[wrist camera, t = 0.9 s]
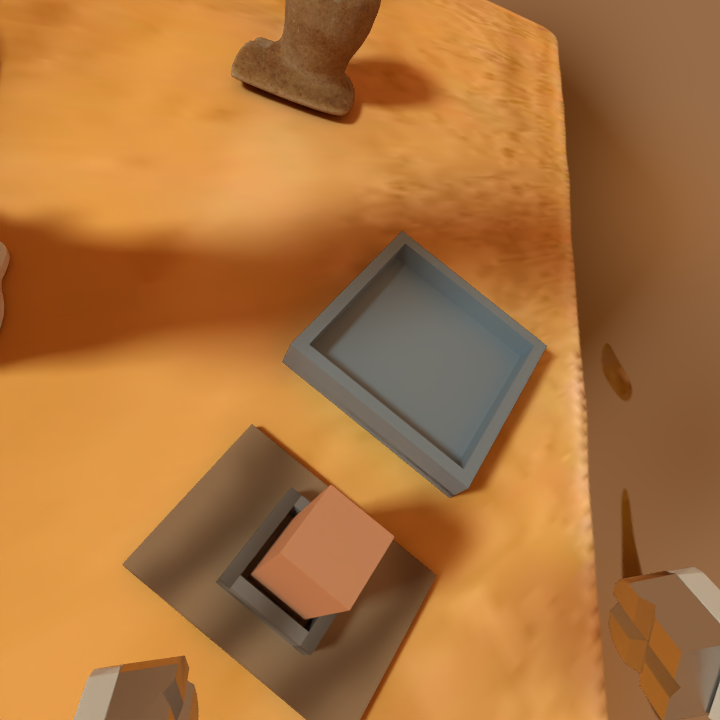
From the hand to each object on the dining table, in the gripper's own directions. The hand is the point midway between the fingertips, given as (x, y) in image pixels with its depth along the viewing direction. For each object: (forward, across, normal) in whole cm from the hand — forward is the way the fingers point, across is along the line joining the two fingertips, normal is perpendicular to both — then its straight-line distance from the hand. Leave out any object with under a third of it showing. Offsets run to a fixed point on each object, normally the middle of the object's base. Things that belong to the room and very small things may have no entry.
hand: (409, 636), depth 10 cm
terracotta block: (+25, +4, +22) cm, 34 cm away
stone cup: (+72, -2, -13) cm, 73 cm away
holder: (+25, +4, +23) cm, 35 cm away
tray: (+42, -10, +15) cm, 46 cm away
